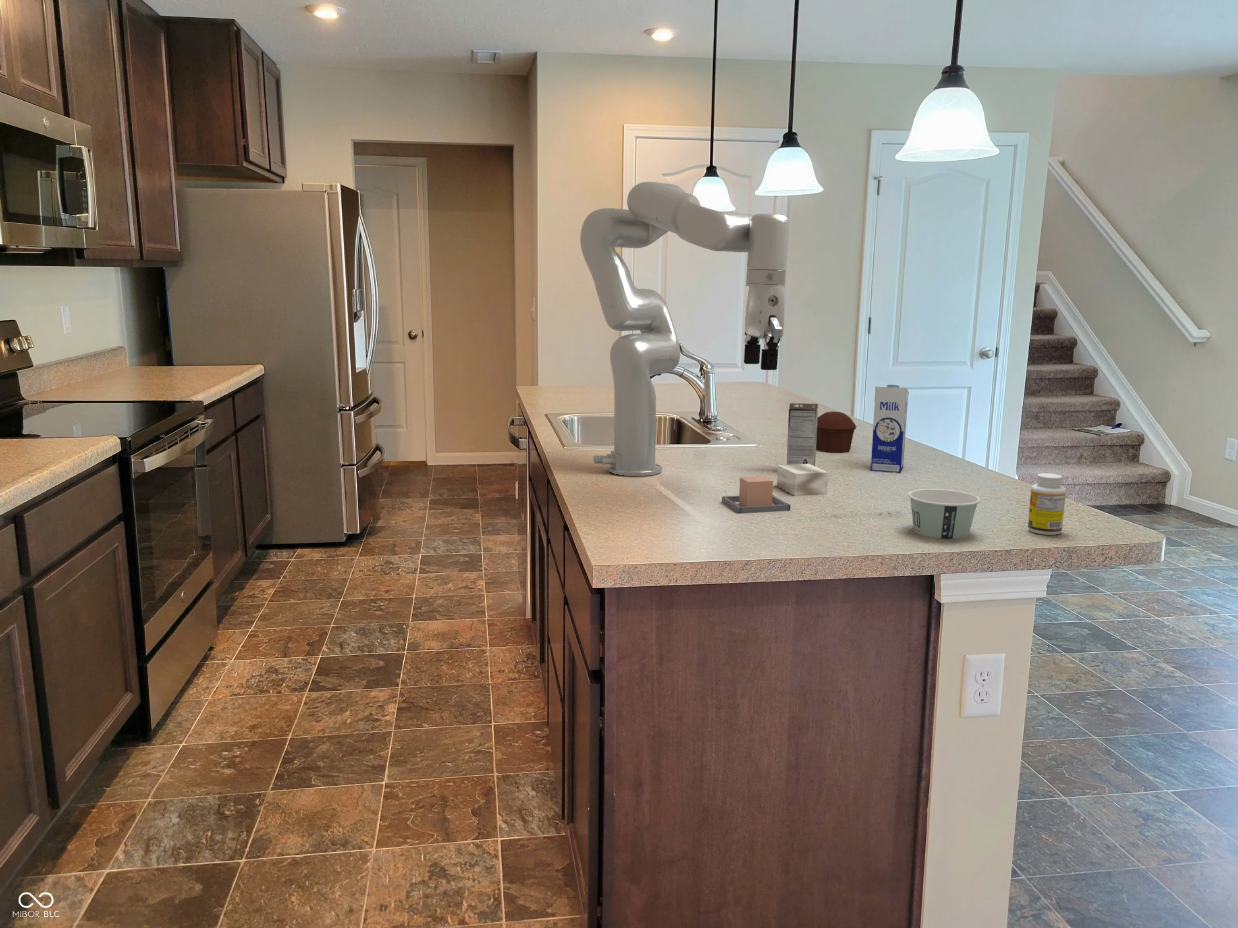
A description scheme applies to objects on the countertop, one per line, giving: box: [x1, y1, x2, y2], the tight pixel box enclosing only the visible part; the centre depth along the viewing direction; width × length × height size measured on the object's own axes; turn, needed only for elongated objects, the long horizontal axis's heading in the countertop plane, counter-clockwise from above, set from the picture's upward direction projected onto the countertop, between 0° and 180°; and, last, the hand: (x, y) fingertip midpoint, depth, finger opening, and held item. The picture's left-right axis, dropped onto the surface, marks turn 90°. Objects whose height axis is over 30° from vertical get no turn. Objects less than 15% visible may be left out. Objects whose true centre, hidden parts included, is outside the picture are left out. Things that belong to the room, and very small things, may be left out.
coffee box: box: [786, 402, 819, 467], centre depth 206 cm, size 9×6×16 cm
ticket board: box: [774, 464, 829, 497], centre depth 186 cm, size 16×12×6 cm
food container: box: [907, 488, 981, 540], centre depth 160 cm, size 12×12×6 cm
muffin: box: [816, 411, 857, 454], centre depth 238 cm, size 12×11×10 cm
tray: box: [721, 494, 791, 514], centre depth 173 cm, size 10×9×2 cm
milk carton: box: [870, 384, 910, 473], centre depth 212 cm, size 7×7×20 cm
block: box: [738, 475, 774, 507], centre depth 173 cm, size 5×4×6 cm
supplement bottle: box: [1027, 472, 1067, 536], centre depth 160 cm, size 6×6×10 cm
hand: (759, 366), depth 181 cm, fingers open, 9 cm apart
